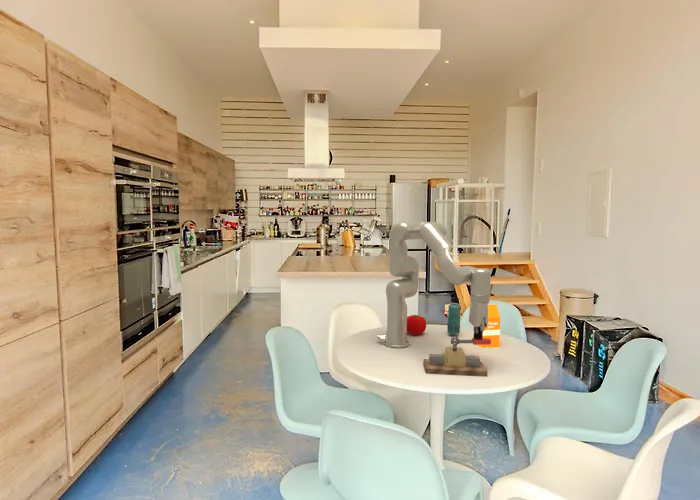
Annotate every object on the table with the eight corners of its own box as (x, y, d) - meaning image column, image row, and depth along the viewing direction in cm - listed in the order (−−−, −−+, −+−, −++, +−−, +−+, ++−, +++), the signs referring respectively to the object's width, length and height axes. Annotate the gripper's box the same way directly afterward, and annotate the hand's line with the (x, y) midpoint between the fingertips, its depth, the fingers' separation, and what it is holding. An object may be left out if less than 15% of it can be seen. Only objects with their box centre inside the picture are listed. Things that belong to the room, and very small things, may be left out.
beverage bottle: (445, 333, 234) (446, 296, 232) (457, 333, 235) (459, 296, 233) (449, 337, 228) (450, 299, 226) (461, 337, 228) (463, 299, 227)
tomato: (406, 337, 227) (406, 317, 226) (401, 331, 238) (402, 312, 237) (428, 337, 228) (429, 317, 227) (423, 331, 239) (424, 312, 238)
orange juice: (499, 347, 212) (501, 306, 210) (482, 348, 210) (484, 306, 209) (491, 342, 220) (492, 302, 218) (474, 343, 218) (476, 303, 216)
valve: (430, 366, 178) (430, 345, 177) (428, 361, 184) (429, 341, 183) (480, 368, 176) (481, 347, 175) (477, 363, 182) (478, 343, 182)
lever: (449, 342, 181) (450, 336, 181) (488, 342, 182) (488, 335, 182) (452, 345, 178) (452, 338, 177) (491, 344, 179) (491, 338, 178)
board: (425, 373, 175) (425, 368, 175) (423, 363, 187) (423, 358, 187) (487, 376, 173) (487, 371, 173) (480, 366, 185) (481, 361, 185)
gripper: (465, 294, 189) (463, 336, 190) (477, 302, 174) (475, 347, 176) (482, 295, 189) (480, 336, 191) (496, 302, 174) (493, 347, 176)
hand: (477, 341), depth 183 cm, fingers closed
